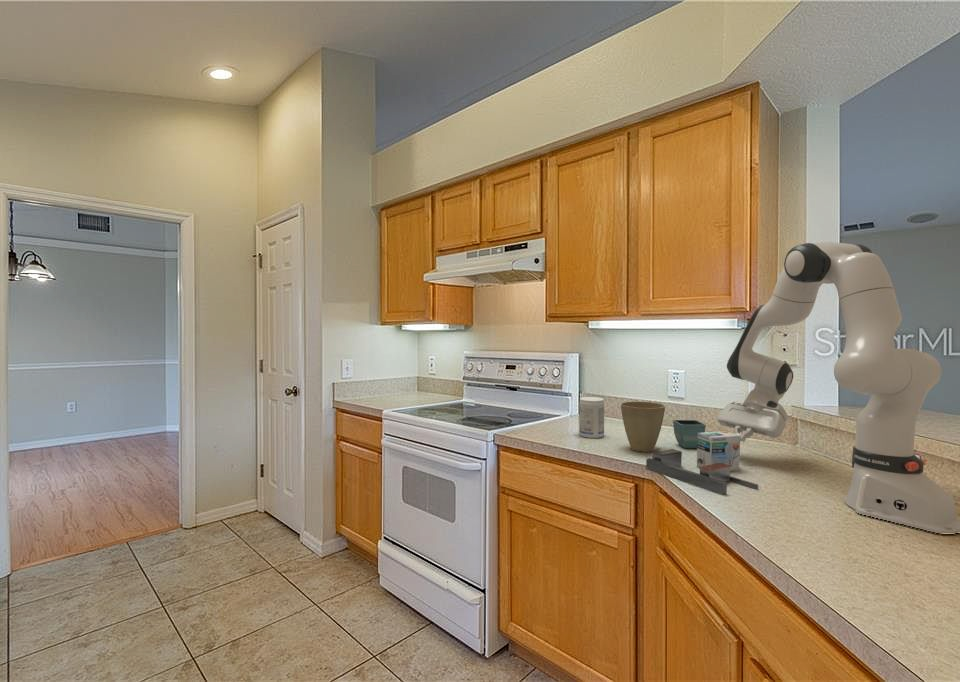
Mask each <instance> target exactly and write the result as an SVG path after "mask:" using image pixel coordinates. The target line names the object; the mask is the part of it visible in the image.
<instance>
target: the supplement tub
mask: <svg viewBox="0 0 960 682" xmlns="http://www.w3.org/2000/svg"><path fill="white" fill-rule="evenodd" d="M578 403H579V405H578V406H579V409H578V410H579V413H578V416H579V417H578V418H579V419H578V423H579V424H578V425H579V426H578V427H579V435H580V436H581V437H583V438H588V439H599V438H603V437H604V435H605V399H604V398H601V397H596V396H584V397H583V396H582V397H580V398H579V402H578Z"/></svg>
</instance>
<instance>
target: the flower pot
mask: <svg viewBox="0 0 960 682" xmlns="http://www.w3.org/2000/svg"><path fill="white" fill-rule="evenodd" d="M672 426H673V433H674V436H675V437H674V438H675V439H676V442H677V444H678V445H679V446H681V447H683V448H684V449H697V443H698V433H703V432H706V427H707V424H705V423H703V422H701V421H699V420H696V419H672Z"/></svg>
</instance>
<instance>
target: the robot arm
mask: <svg viewBox="0 0 960 682" xmlns="http://www.w3.org/2000/svg"><path fill="white" fill-rule="evenodd" d="M775 283H776V284H775V286H774V288H773V292H772V295H771V297H770V299H769V300H768V301H767V302H766V303H765V304H761V305H759V306H758V307H757V308H756V309H755V310H754V312H753V313H752V315H751V317H750V319H749V321H747V324H746V326H745V329H744V330H743V332H742V334H741V336H740V338H739V340H738V342H737V344H736V346H735V348H734V349H733V352H732V353H731V355H730V356H729V358H728V360H727V362H726V369H727V371H728V373H729V374H730V376H731V377H732V378H735V379H738V380H742V381H745V382H746V381H747V382H749V383H752V384H754V387H753V389H751V391H749V393H748V395H747V397H746V398H745V399H744V401H743V403H740V402H736V401H732V402H730V403H727V404H726V405H725V407H724V408H723V409H721V411H720V412H718V414H717V417H716V418H717V421H718V423H719V424H720V426H723V427H726V428H727V427H728V428H733V429H734V430H735V433H734V434H736V435H739V436H740V442H741V443H742V442H743V443H744V442H746V440H747V439H748V438H750V437H752V436H753V435H754V434H757V435H761V436H766V437H771V438H775V439H776V438H779V437H780V436H781V435H782V434H783V433H784V430H785V428H786V425H787V423H786V422H787V421H788V420H789V416H788V413H787V411H786V409H784V407H783V406H782V404H781V403H779V401H780V400H781V399H782V398H783V397H784V395H785V393H787V391H788V390H789V388H790V386H791V385H792V384H793V383H792V382H793V380H794V372H793V369H792V367H791V366H790V365H789V363H788V362H786V361H783V360H780V359H777V358H775V357H770V356H767V355H766V354H765V355H764V354H761V353H758V352H755V351H754V349H753V347H754V345H755V343H756V341H757V339H758V337H759V336H760V333H761V331H762V330H763V329H764V328H767V327H768V328H769V327H782V326H785V327H786V326H790V325H795V324H796V325H797V324H798V323H801V322H803V321H804V320H806V319H807V318H809V316H810V315H811V312H812V310H813V309H814V306H815V304H816V299H817V295H818V294H819V290H820V287H821V286H822V285H823V284H834V286H835V287H836V291H837V296H838V299H839V304H840V307H841V312H842V317H843V320H844V325H845V343H844V348H843V351H842V353H841V355H840V356H839V358H838V359H837V360H836V362H835V363H834V365H833V375H834V376H833V377H834V379H835V381H836V382H837V384H838V385H839V386H840V387H841V388H842V389H843V390H845V391H848V392H852V393H855V394H860V395H864V396H870V398H869V400H868V402H867V404H866V405H865V407H864V408H863V409H862V410H860V412H859V413H858V414H857V416H856V420H855V439H854V440H855V442H854V443H855V445H854V446H853V447H852V454H851V467H852V474H851V475H852V476H851V481H850V484H849V489H848V491H847V493H846V497H845V499H844V503H845V504H846V505H847V506H848V507H850V508H852V509H854V511H855V512H856V513H857V514H858V513H859V514H858V515H860V514H862V515H861V516H864V515H866V516H865V517H868V516H871V517H870V518H872V517H874V518H873V519H876V518H878V519H877V520H880V519H883V520H882V521H884V520H887V521H886V522H888V521H891V522H890V523H892V522H895V523H894V524H896V523H899V524H898V525H900V524H904V525H908V526H912V527H917V528H921V529H924V530H928V531H932V532H937V533H958V532H960V516H958V514H957V507H956V503H955V500H954V498H953V496H952V494H950V493H949V492H948V490H945V489H944V488H943V487H941V486H940V485H939V484H938V483H936V482H935V481H934V480H933V479H931V478H930V477H929V476H927V475H926V474H925V473H924V466H925V465H927V464H926V462H927V460H926V459H922V460H921V458H919V457H918V456H917V455H915V453H914V450H915V435H916V427H917V426H916V425H917V420H918V416H919V413H920V411H921V408H922V406H923V404H924V402H925V399H926V397H927V394H929V392H930V390H931V389H932V388H933V387H934V386H936V385H937V384H938V382H939V381H940V379H941V376H942V367H941V365H940V363H939V361H938V359H936V357H934V356H933V355H931V354H930V353H927V352H925V351H922V350H921V351H920V350H917V349H913V348H895V335H896V329H897V328H898V327H900V326H901V323H902V320H903V316H902V313H901V309H900V306H899V303H898V297H897V295H896V291H895V289H894V286H893V285H894V284H893V281H892V280H891V276H890V275H889V271H888V270H887V268H886V266H885V265H884V263H883V261H882V259H881V258H880V256H878V255H877V254H875V253H873V251H872V250H871V249H870V248H869V247H867V246H866V245H864V244H861V243H860V244H859V243H855V242H851V243H844V242H833V241H825V242H824V241H823V242H814V243H811V242H806V243H801V244H799V245H798V244H797V245H795V246H793V247H792V248H791V249H790V250H788V252H787V253H786V255H785V258H784V263H783V268H782V270H781V272H780V273H779V275H778V278H777V280H776V282H775ZM742 432H743V433H742ZM904 525H903V526H904ZM908 526H907V527H908ZM912 527H911V528H912ZM924 530H923V531H924ZM928 531H927V532H928ZM932 532H931V533H932Z"/></svg>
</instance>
